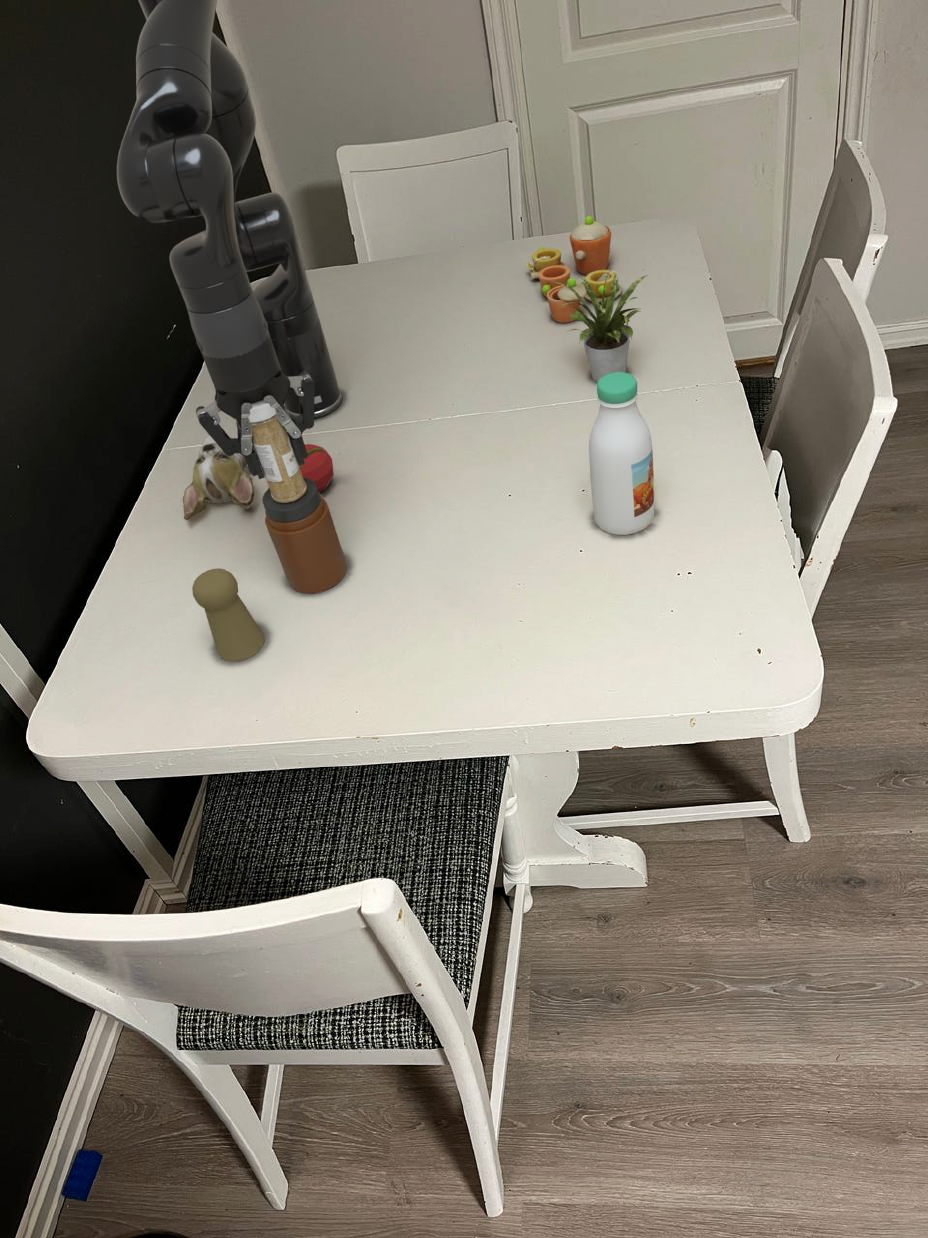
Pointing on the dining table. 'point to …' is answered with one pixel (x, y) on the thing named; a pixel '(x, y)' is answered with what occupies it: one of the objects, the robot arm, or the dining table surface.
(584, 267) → the toy tea set
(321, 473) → the tomato
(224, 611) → the cork
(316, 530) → the amber bottle
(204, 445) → the ceramic sculpture
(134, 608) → the dining table surface
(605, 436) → the milk bottle
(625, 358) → the house plant
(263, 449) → the spice jar
